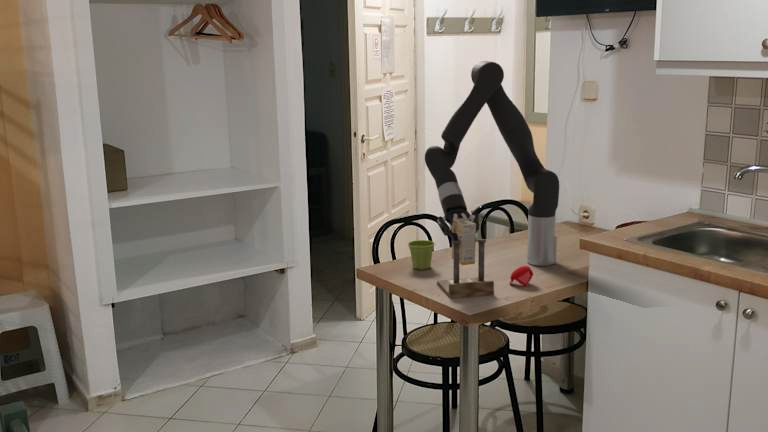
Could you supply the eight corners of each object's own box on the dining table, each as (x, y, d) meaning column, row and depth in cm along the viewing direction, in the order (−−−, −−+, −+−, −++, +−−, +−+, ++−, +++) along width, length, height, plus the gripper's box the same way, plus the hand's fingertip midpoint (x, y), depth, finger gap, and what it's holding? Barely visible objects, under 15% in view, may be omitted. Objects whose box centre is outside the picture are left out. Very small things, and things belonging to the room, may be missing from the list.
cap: (533, 271, 245) (518, 261, 245) (537, 270, 239) (521, 260, 239) (521, 292, 244) (505, 282, 244) (524, 292, 238) (507, 281, 238)
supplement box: (450, 258, 240) (451, 218, 238) (464, 257, 242) (465, 217, 239) (461, 265, 233) (462, 224, 230) (475, 264, 234) (476, 223, 231)
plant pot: (410, 272, 257) (410, 247, 256) (405, 264, 267) (405, 240, 265) (437, 270, 259) (437, 245, 257) (431, 263, 268) (431, 239, 266)
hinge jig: (478, 280, 246) (478, 230, 243) (494, 294, 232) (494, 241, 228) (436, 284, 244) (436, 233, 240) (450, 298, 229) (450, 245, 226)
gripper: (433, 194, 238) (447, 240, 229) (475, 191, 242) (490, 236, 233) (428, 207, 244) (441, 252, 235) (469, 204, 248) (483, 249, 239)
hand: (465, 244), depth 234 cm, fingers closed on supplement box, 5 cm apart
